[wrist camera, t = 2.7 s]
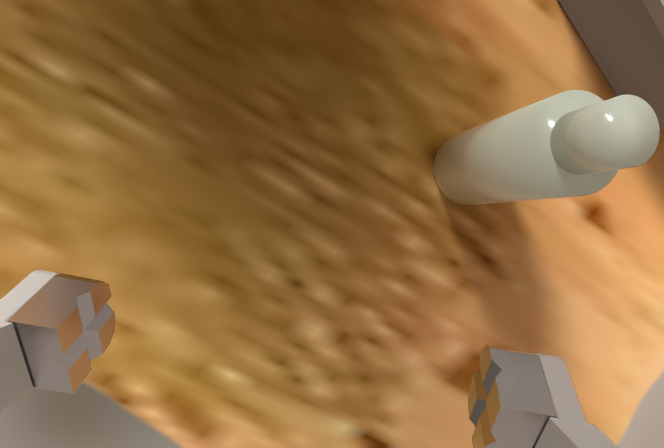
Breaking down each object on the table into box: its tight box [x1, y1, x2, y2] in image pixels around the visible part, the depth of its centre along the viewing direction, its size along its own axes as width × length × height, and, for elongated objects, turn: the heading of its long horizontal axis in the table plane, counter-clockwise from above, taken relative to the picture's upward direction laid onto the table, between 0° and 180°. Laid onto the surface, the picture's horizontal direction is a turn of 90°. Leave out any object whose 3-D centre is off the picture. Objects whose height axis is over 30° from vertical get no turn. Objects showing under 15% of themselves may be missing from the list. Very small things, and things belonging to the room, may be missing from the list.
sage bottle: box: [434, 90, 660, 205], centre depth 27 cm, size 5×5×14 cm
